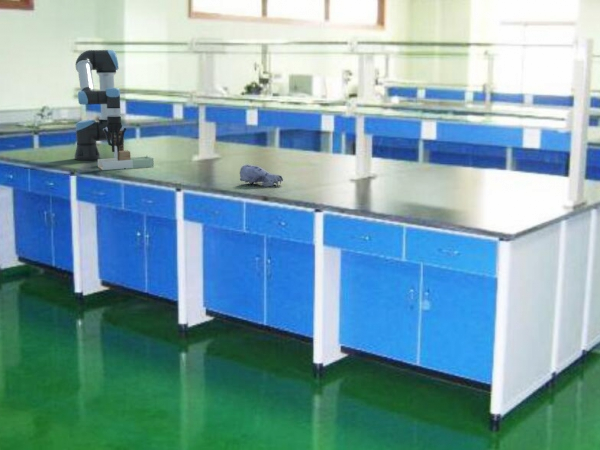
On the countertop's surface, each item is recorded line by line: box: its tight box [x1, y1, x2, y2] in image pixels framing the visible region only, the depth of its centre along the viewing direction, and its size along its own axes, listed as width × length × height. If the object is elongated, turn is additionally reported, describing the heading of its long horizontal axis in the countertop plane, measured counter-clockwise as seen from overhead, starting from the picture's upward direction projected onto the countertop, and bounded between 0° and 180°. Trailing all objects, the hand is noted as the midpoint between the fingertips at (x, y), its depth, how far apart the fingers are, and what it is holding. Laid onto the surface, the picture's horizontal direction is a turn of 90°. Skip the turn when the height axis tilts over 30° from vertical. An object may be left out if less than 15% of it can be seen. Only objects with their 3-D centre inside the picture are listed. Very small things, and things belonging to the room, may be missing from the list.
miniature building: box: [114, 129, 125, 151], centre depth 495 cm, size 10×11×20 cm
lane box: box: [97, 155, 155, 171], centre depth 480 cm, size 12×29×5 cm, turn 115°
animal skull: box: [239, 164, 284, 187], centre depth 418 cm, size 14×22×10 cm, turn 65°
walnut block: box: [117, 150, 132, 161], centre depth 479 cm, size 6×6×6 cm
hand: (115, 157), depth 477 cm, fingers closed
